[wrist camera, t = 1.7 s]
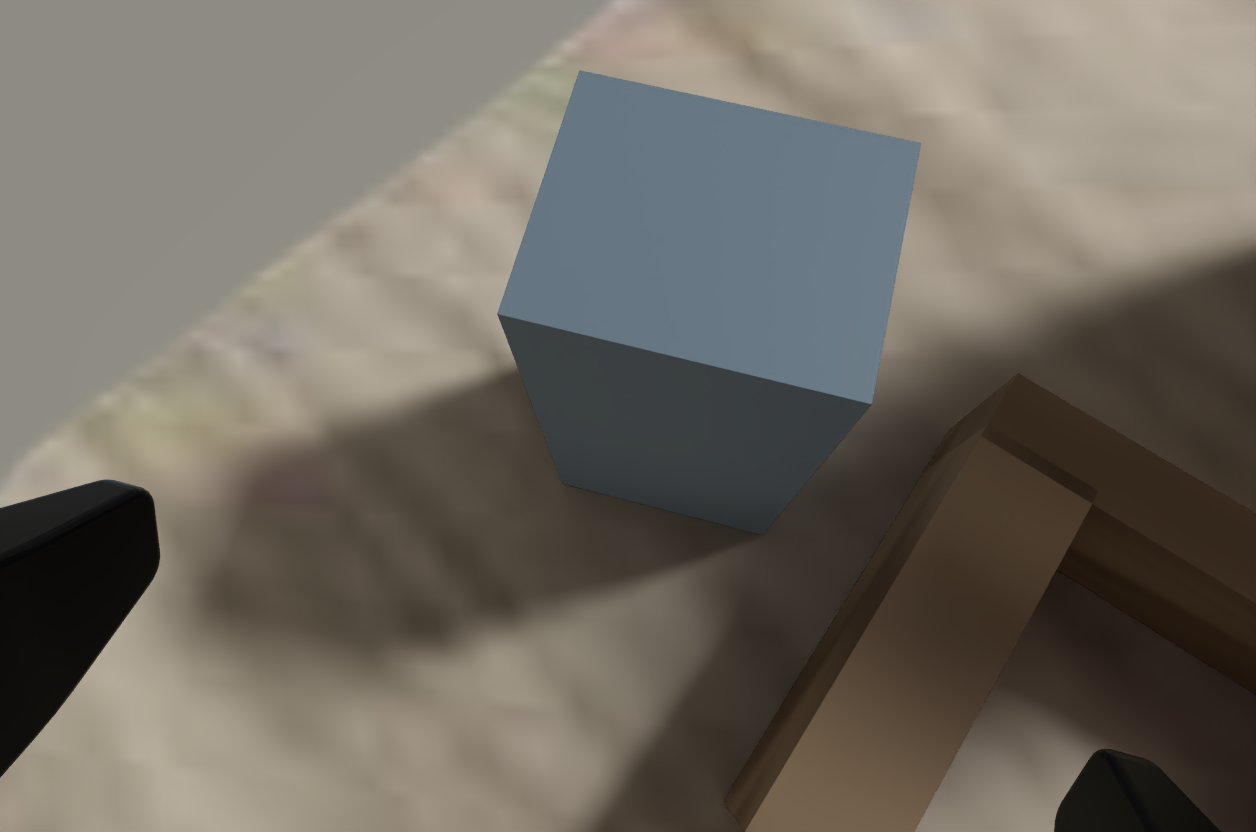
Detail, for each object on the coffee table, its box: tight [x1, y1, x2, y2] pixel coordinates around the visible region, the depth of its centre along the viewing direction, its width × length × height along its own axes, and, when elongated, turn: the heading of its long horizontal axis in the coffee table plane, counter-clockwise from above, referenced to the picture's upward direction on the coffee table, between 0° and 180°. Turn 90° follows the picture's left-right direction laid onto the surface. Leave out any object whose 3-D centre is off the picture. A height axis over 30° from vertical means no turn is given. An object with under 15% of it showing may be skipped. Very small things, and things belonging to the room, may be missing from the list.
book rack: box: [723, 374, 1256, 832], centre depth 17 cm, size 10×13×4 cm
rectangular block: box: [498, 71, 921, 535], centre depth 16 cm, size 4×5×10 cm
